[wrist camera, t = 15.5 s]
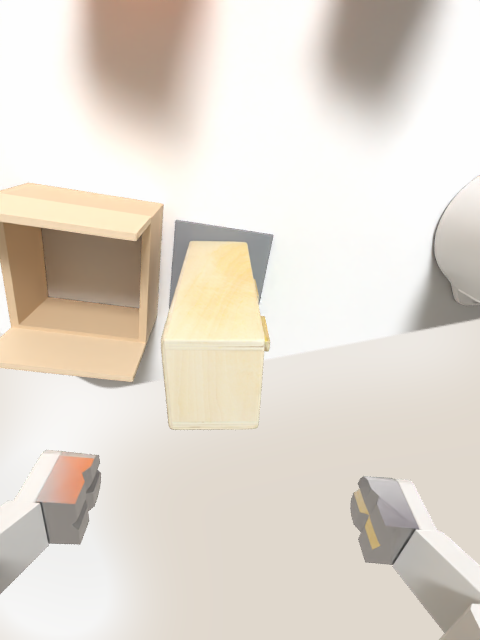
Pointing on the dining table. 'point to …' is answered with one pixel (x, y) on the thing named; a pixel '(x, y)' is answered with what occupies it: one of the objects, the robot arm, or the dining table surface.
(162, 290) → the dining table surface
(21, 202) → the carton
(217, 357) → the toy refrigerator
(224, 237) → the mat
